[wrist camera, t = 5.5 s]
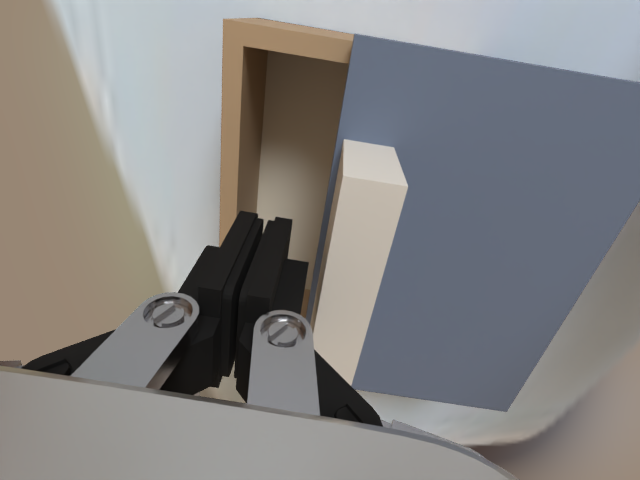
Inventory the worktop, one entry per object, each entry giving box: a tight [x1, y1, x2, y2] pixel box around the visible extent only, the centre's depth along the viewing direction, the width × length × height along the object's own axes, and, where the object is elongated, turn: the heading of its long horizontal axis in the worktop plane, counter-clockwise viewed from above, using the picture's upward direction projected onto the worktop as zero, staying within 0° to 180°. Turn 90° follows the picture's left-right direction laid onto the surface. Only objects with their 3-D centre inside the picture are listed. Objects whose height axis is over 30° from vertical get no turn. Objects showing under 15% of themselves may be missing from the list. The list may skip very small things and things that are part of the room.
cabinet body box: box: [219, 18, 354, 319], centre depth 16 cm, size 9×13×5 cm
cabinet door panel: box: [306, 34, 640, 412], centre depth 12 cm, size 9×13×4 cm
